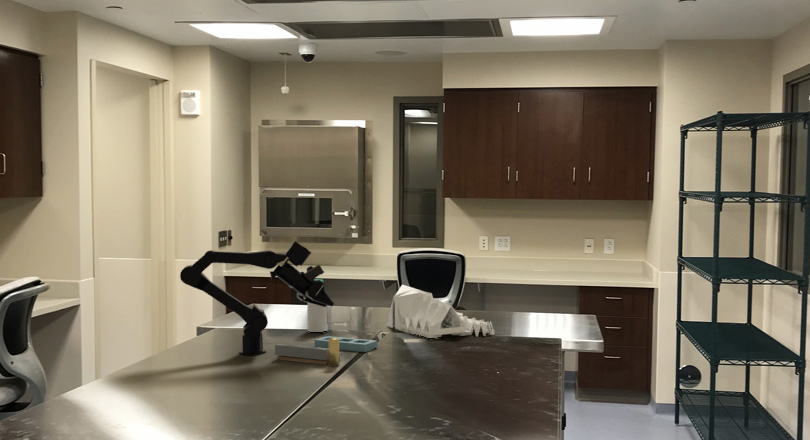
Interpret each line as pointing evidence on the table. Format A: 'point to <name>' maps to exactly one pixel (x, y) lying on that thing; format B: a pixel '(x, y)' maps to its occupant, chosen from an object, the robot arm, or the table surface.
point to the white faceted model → (430, 316)
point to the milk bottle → (317, 317)
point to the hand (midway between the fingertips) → (329, 305)
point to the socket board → (348, 344)
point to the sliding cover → (302, 351)
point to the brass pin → (334, 352)
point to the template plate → (303, 360)
